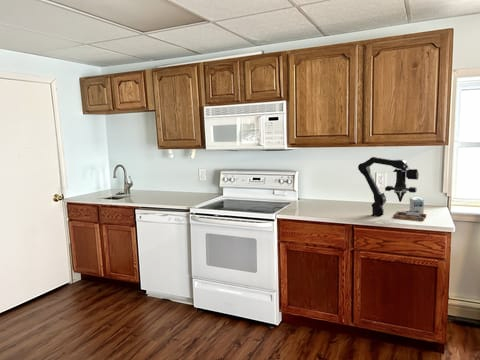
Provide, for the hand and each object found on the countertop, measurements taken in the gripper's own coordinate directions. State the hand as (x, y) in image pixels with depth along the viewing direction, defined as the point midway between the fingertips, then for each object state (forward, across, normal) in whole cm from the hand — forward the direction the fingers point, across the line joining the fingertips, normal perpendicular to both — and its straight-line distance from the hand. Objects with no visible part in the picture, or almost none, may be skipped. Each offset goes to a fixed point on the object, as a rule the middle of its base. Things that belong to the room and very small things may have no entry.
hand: (400, 201), depth 243 cm
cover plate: (+10, +9, 0) cm, 13 cm away
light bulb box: (+12, +7, +19) cm, 23 cm away
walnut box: (+11, +6, 0) cm, 13 cm away
